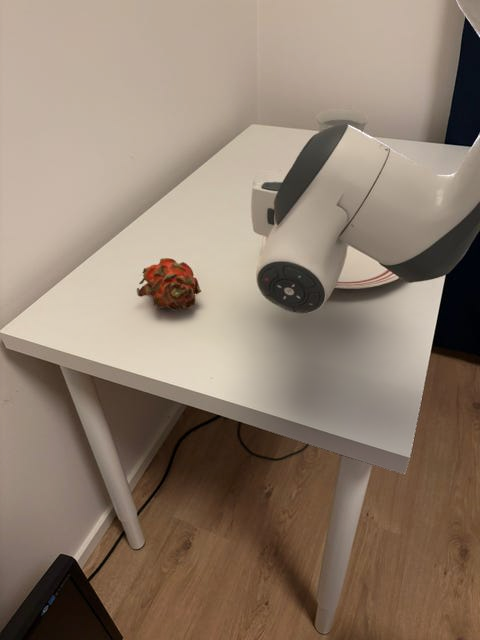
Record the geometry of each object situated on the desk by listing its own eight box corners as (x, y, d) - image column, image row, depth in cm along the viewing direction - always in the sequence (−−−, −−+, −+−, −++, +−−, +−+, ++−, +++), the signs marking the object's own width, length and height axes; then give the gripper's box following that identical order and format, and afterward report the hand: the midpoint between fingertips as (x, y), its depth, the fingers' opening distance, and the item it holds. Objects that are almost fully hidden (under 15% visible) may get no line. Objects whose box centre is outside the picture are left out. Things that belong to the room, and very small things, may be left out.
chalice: (357, 250, 72) (374, 125, 60) (311, 251, 72) (319, 127, 61) (349, 226, 77) (363, 108, 66) (306, 227, 78) (313, 109, 66)
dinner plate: (423, 232, 94) (426, 217, 92) (403, 316, 75) (407, 299, 73) (288, 212, 103) (289, 198, 101) (239, 282, 84) (239, 266, 81)
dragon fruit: (194, 330, 77) (152, 307, 85) (222, 284, 77) (177, 265, 85) (159, 308, 70) (117, 285, 78) (189, 258, 71) (144, 241, 79)
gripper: (413, 202, 54) (418, 157, 64) (239, 185, 60) (269, 146, 70) (403, 251, 58) (409, 201, 68) (241, 231, 64) (269, 187, 74)
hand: (337, 173), depth 69 cm, fingers closed on chalice, 5 cm apart
